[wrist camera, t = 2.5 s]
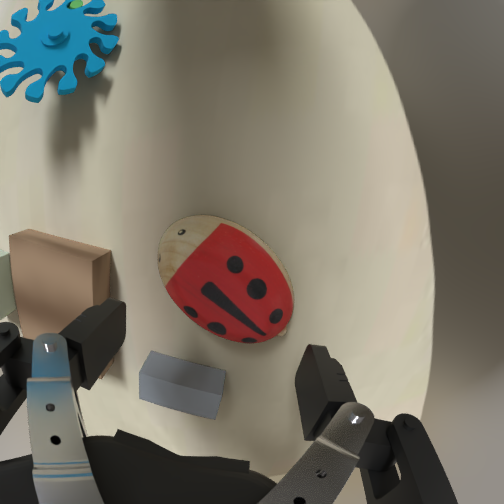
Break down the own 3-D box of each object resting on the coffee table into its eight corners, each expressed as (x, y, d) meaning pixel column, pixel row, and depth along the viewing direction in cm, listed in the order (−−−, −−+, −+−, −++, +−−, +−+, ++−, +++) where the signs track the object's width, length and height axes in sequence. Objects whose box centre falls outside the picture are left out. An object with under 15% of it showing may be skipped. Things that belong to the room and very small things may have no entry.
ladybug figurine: (200, 187, 16) (185, 190, 13) (319, 285, 18) (333, 309, 14) (143, 267, 17) (120, 287, 14) (254, 349, 19) (254, 381, 16)
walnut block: (32, 227, 17) (9, 235, 14) (113, 248, 17) (92, 261, 14) (41, 327, 20) (24, 342, 17) (115, 358, 20) (101, 379, 17)
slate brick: (150, 375, 20) (139, 398, 17) (152, 349, 19) (139, 372, 16) (219, 394, 20) (215, 419, 17) (226, 369, 20) (222, 395, 17)
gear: (105, 98, 13) (-34, 98, 6) (87, 126, 17) (-19, 127, 10) (139, -12, 11) (30, -23, 4) (114, 26, 15) (22, 19, 8)
